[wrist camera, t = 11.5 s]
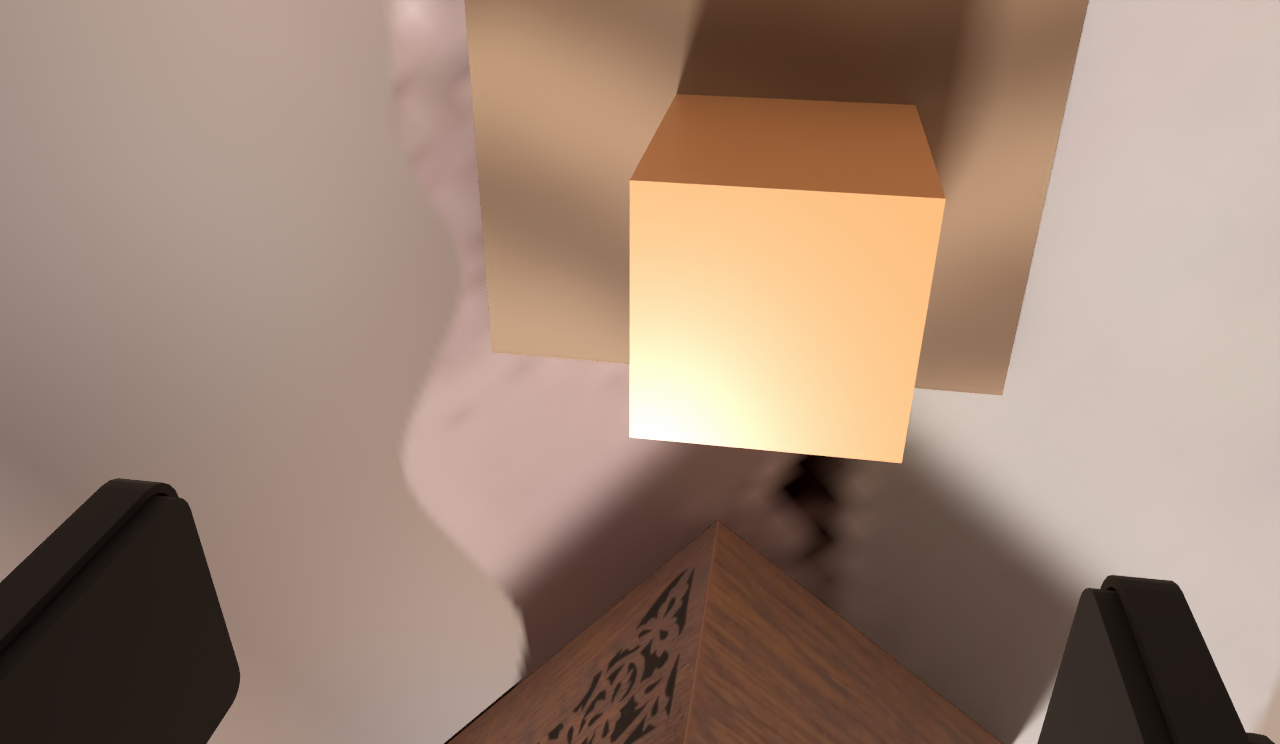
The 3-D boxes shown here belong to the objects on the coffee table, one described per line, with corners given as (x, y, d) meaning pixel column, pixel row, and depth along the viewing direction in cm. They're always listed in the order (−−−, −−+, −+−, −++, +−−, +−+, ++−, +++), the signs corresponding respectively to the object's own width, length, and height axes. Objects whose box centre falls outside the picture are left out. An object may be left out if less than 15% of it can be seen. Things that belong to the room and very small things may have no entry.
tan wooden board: (444, -493, 21) (424, -509, 20) (1186, -522, 19) (1207, -542, 18) (503, 334, 31) (491, 352, 30) (995, 374, 29) (1002, 395, 28)
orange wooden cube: (676, 94, 25) (629, 180, 19) (915, 104, 24) (945, 198, 18) (671, 305, 28) (629, 437, 22) (884, 321, 27) (901, 463, 21)
